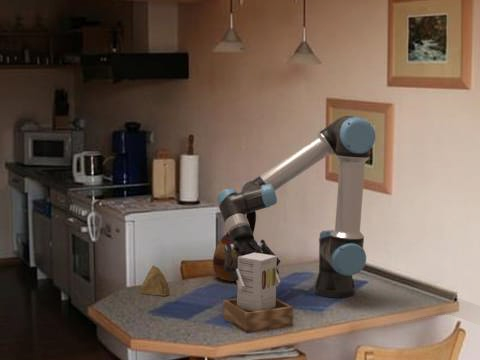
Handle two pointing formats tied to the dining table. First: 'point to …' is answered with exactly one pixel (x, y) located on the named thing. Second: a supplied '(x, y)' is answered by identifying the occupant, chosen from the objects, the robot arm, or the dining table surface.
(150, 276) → the rock
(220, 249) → the ceramic pitcher
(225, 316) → the oak crate
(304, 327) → the dining table surface
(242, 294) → the supplement box
